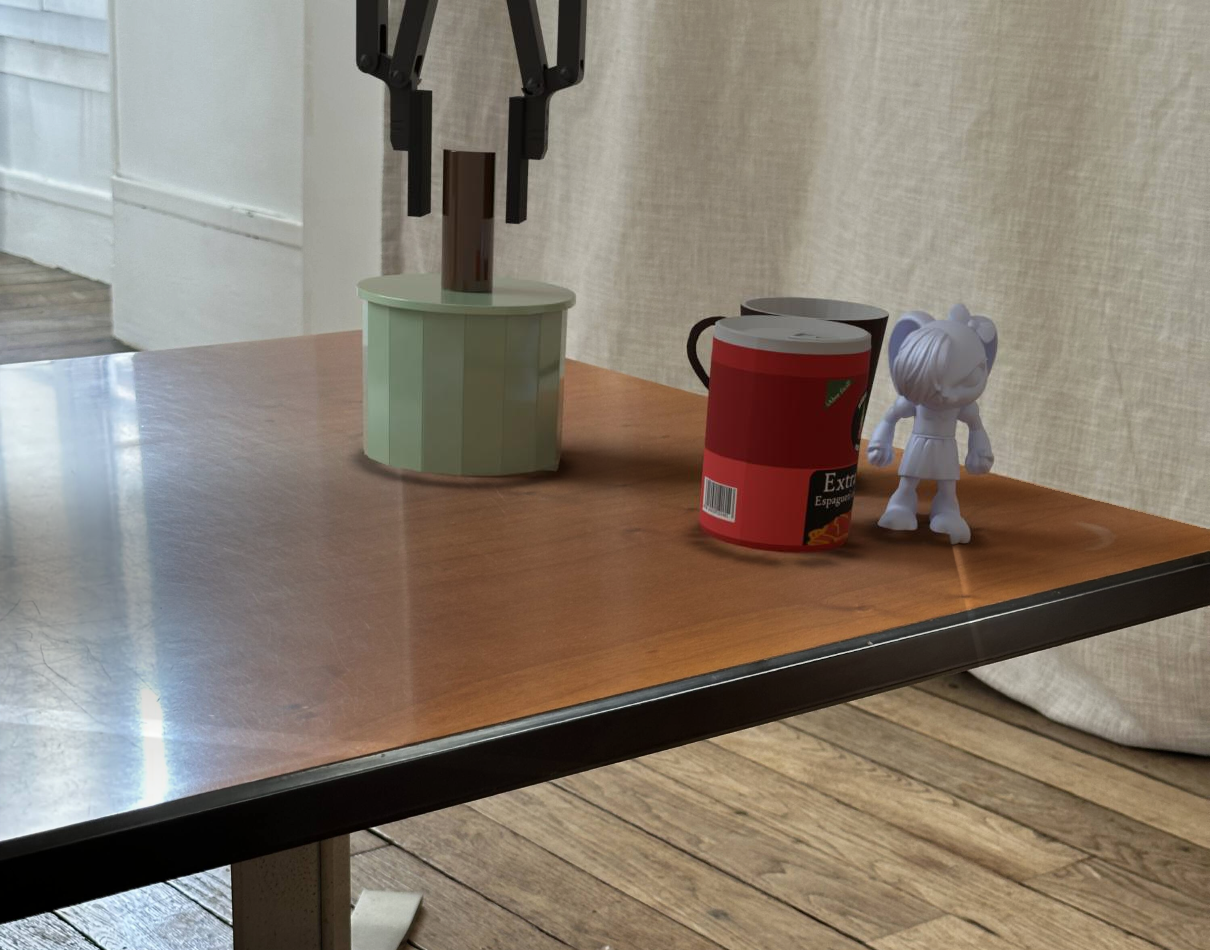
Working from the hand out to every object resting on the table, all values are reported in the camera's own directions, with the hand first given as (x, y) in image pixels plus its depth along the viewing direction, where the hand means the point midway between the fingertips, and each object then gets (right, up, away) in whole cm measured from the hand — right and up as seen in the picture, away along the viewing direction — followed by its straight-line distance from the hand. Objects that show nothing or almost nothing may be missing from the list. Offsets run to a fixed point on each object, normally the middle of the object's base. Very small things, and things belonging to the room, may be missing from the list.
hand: (467, 217), depth 97 cm
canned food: (+17, -20, -7) cm, 27 cm away
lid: (0, -4, +2) cm, 4 cm away
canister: (-1, -13, +6) cm, 14 cm away
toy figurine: (+25, -18, -3) cm, 31 cm away
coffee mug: (+18, -13, +8) cm, 24 cm away
